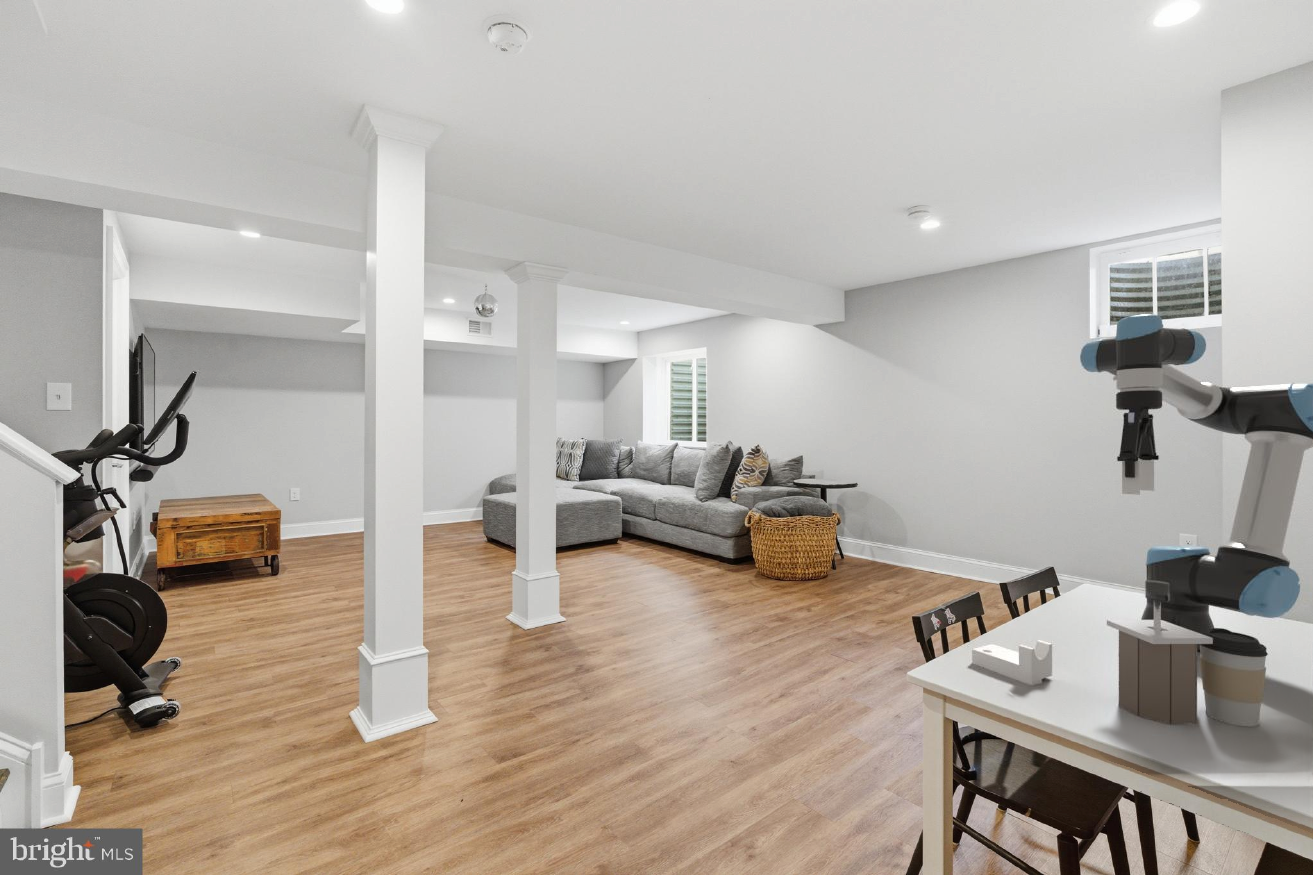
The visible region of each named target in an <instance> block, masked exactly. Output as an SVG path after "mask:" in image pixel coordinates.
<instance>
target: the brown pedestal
mask: <svg viewBox="0 0 1313 875" xmlns="http://www.w3.org/2000/svg"><path fill="white" fill-rule="evenodd" d="M1106 626H1108V627H1110V628H1113V629H1115V630H1117V631H1118V706H1119V707H1121V708H1123V709H1125V710H1126V711H1129V713H1132V714H1134V715H1135V716H1138V717H1140V718H1144V719H1148V720H1153V721H1155V722H1156V721H1157V722H1159V723H1164V724H1168V725H1197V719H1198V650H1197V644H1213V638H1211V637H1208V636H1205V635H1203V634H1200V633H1197V632H1194V631H1191V630H1188V629H1186V628H1183V627H1180V626H1177V625H1174V624H1171V623H1169V622H1166V621H1163V620H1161V631H1156V630H1154V620H1141V619H1106Z"/></svg>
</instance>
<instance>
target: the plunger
mask: <svg viewBox="0 0 1313 875" xmlns="http://www.w3.org/2000/svg"><path fill="white" fill-rule="evenodd" d="M1144 584H1145V585H1144V586H1145V587H1144V588H1145V592H1144V593H1145V594H1144V595H1145V598H1146V600H1147V599H1151V600H1154V630H1156V631H1161V601H1169V583H1167V582H1162V581H1154V580H1147V579H1146V580H1145V582H1144Z"/></svg>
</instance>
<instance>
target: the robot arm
mask: <svg viewBox="0 0 1313 875" xmlns="http://www.w3.org/2000/svg"><path fill="white" fill-rule="evenodd" d="M1115 332H1116V334H1115V337H1111V338H1110V337H1109V338H1101V339H1097V340H1093V341H1089V342H1088V343H1086V344H1084V345H1083V347H1082V348H1081V351H1080V356H1079V359H1080V363H1081V366H1082V367H1083V369H1084V370H1085V371H1088V372H1089V373H1102V372H1107V373H1109V374H1111V375H1113V377H1112V380H1113V381H1116V390H1118V391H1119V392H1117V393H1116V395H1115V407H1116V409H1117V410H1119V411H1128V412H1124V413H1123V424H1122V432H1121V443H1120V450H1119V455H1118V456H1117V457H1116V461H1117V462H1121V465H1122V466H1121V468H1122V469H1121V471H1122V472H1121V474H1122V475H1121V486H1122V487H1121V489H1122V490H1121V494H1123V495H1137V496H1138V495H1140V494H1141V491H1155V461H1159V459H1160V456H1159V455H1158V454H1157V451H1156V450H1157V448H1156V441H1155V430H1154V414H1153V413H1150V412H1149V410H1159V409H1161V408H1162V407H1163V402H1165V403H1167V404H1168V405H1171V406H1172V407H1174V408H1176V410H1177V412H1178V413H1179V415H1181V416H1182V417H1184V418H1185V419H1187V420H1189V421H1192V422H1193V423H1196V424H1198V425H1201V426H1203V427H1206V428H1209V429H1212V430H1215V431H1217V432H1218V431H1219V432H1222V433H1226V434H1232V435H1244V439H1245V440H1246V441H1247V442H1249V444H1250V445H1251V446H1250V449H1249V455H1248V459H1247V463H1246V467H1245V471H1244V472H1245V473H1244V476H1243V480H1242V485H1241V489H1240V493H1239V497H1238V502H1237V506H1236V511H1235V515H1234V519H1233V524H1232V528H1231V533H1230V537H1229V539H1228V540H1229V541H1227V542H1226V543H1224V544H1222V545H1219V546H1218V550H1217V553H1216V555H1210V554H1211V551H1210V550H1209V548H1207V547H1204V546H1185V545H1184V546H1183V545H1174V546H1173V545H1172V546H1171V545H1167V546H1154V547H1151V548H1150V549H1148V550H1147V555H1146V563H1145V566H1146V580H1154V581H1162V582H1167V583H1169V601H1161V620H1163V621H1166V622H1169V623H1171V624H1174V625H1177V626H1180V627H1183V628H1186V629H1188V630H1191V631H1194V632H1197V633H1200V634H1203V635H1205V634H1206V632H1207V631H1210V630H1211V629H1213V628H1215V625H1214V622H1213V620H1212V618H1211V616H1210V606H1212V607H1216V608H1219V609H1225V610H1228V611H1233V612H1237V613H1242V614H1245V615H1247V616H1251V617H1252V616H1254V617H1255V616H1256V617H1260V618H1266V619H1267V618H1268V619H1275V618H1279V617H1282V616H1283V615H1285V614H1286V613H1289V611H1291V609H1292V608H1293V607H1294V606H1295V604H1296V602H1297V601H1298V598H1299V595H1300V592H1301V584H1300V581H1301V580H1300V577H1299V575H1298V573H1297V572H1296V570H1294V569H1293V568H1291V567H1290V564H1291V561H1290V560H1289V558H1287V556H1285V555H1284V553H1283V549H1284V544H1285V540H1286V535H1287V532H1288V527H1289V522H1290V519H1291V518H1290V517H1291V514H1292V509H1293V505H1294V500H1295V499H1294V498H1295V495H1296V491H1297V486H1298V481H1299V477H1300V472H1301V469H1302V463H1303V459H1304V456H1305V455H1304V454H1305V452H1306V451H1307V450H1309V449H1311V448H1313V382H1312V383H1310V382H1306V383H1296V382H1291V383H1283V384H1270V385H1257V386H1239V387H1238V386H1237V387H1225V386H1224V387H1223V386H1218V385H1216V384H1214V383H1210V382H1201V381H1199V380H1197V379H1195V378H1193V377H1191V376H1190V375H1188V374H1186V373H1184V372H1182V371H1181V370H1179V369H1177V368H1175V367H1173V366H1172V365H1174V366H1181V365H1190V364H1193V363H1196V362H1198V361H1199V360H1201V358H1202V357H1203V355H1204V354H1205V352H1206V349H1207V342H1206V339H1205V337H1204V336H1203V334H1201V333H1200V332H1198V331H1196V330H1191V329H1187V328H1173V327H1172V328H1171V327H1170V328H1169V327H1164V324H1163V319H1162V317H1161V316H1160V315H1159V314H1139V315H1132V316H1131V315H1130V316H1127V317H1124V318H1121V319H1120V320H1118V321H1117V323H1116V331H1115ZM1140 620H1154V600H1151V599H1147V598H1146V605H1145V608H1144V611H1143V613H1142V616H1141V618H1140ZM1197 651H1200V644H1197Z"/></svg>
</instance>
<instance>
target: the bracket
mask: <svg viewBox="0 0 1313 875" xmlns="http://www.w3.org/2000/svg"><path fill="white" fill-rule="evenodd" d="M1035 644H1036V645H1035V648H1033V647H1030V646H1026V645H1025V644H1019V645H1018V651H1016V650H1013V649H1009V648H1005V647H1004V646H999V645H997V644H993V643H992V644H988V645H983V646H979V647H975V648H972V649H971V650H972V651H971V663H972V664H973V663H974V664H973V665H976V666H978V665H979V667H981V668H983V667H984V668H983V669H986V670H988V669H989V670H988V671H991V670H992V671H991V672H993V671H994V673H996V672H997V673H996V674H999V675H1002V676H1004V677H1006V678H1010V679H1013V680H1016V681H1018V682H1020V683H1021V682H1022V683H1024V684H1026V685H1030V686H1033V685H1037V684H1041V683H1043V679H1046V678H1049V677H1053V643H1050V642H1046V641H1044V640H1041V639H1039V640H1036V643H1035Z"/></svg>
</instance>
